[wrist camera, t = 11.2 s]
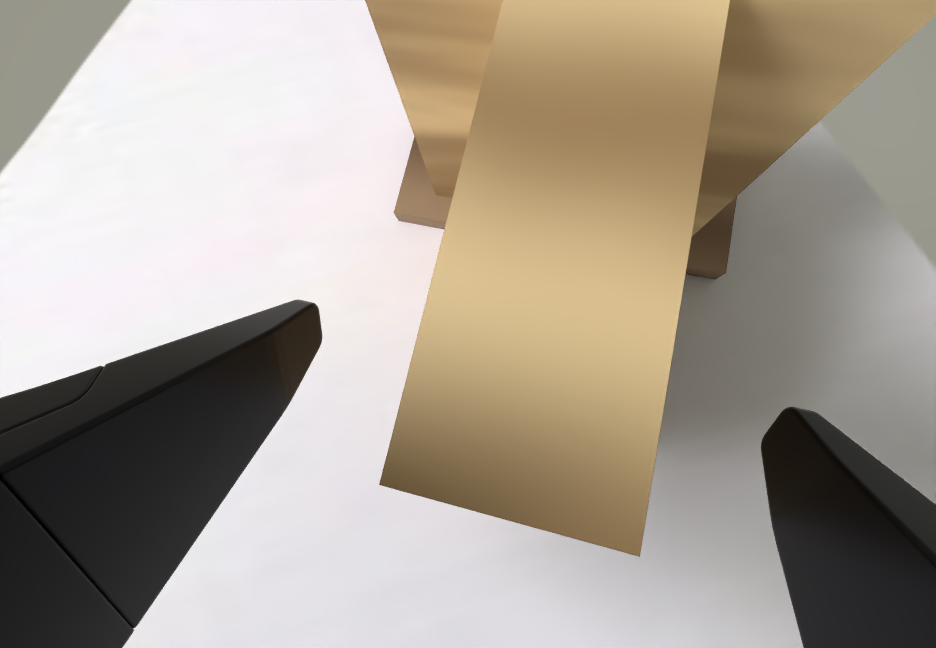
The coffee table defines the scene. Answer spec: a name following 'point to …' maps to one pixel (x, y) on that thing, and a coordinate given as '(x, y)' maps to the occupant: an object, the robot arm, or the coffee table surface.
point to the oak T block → (587, 222)
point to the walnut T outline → (433, 209)
